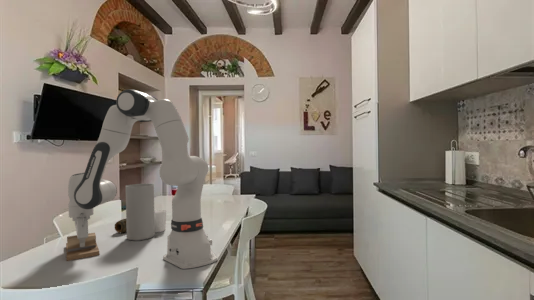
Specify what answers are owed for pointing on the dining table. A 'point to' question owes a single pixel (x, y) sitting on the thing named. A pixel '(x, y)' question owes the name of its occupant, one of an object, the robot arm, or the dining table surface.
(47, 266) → the dining table surface
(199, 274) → the dining table surface
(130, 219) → the cylinder vase
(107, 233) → the dining table surface
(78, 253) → the board
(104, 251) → the dining table surface
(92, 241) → the sanding block
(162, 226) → the white cup
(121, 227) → the brown wooden tube
